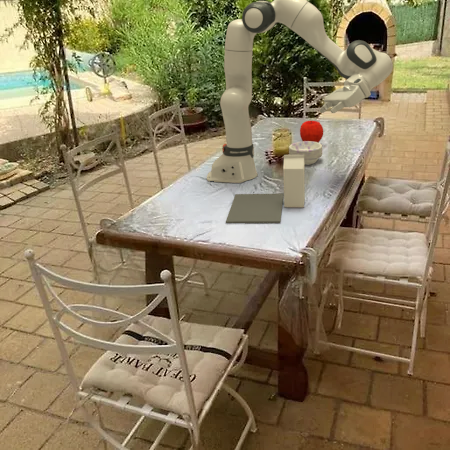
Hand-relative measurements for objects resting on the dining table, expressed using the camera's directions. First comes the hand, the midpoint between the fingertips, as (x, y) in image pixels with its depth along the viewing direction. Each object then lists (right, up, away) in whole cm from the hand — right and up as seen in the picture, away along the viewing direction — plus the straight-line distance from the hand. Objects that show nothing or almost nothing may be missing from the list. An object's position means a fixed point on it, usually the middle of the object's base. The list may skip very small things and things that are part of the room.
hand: (326, 111), depth 176 cm
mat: (-26, -36, +1) cm, 44 cm away
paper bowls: (0, -12, +48) cm, 49 cm away
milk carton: (-11, -34, +3) cm, 36 cm away
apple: (+7, -2, +69) cm, 70 cm away
